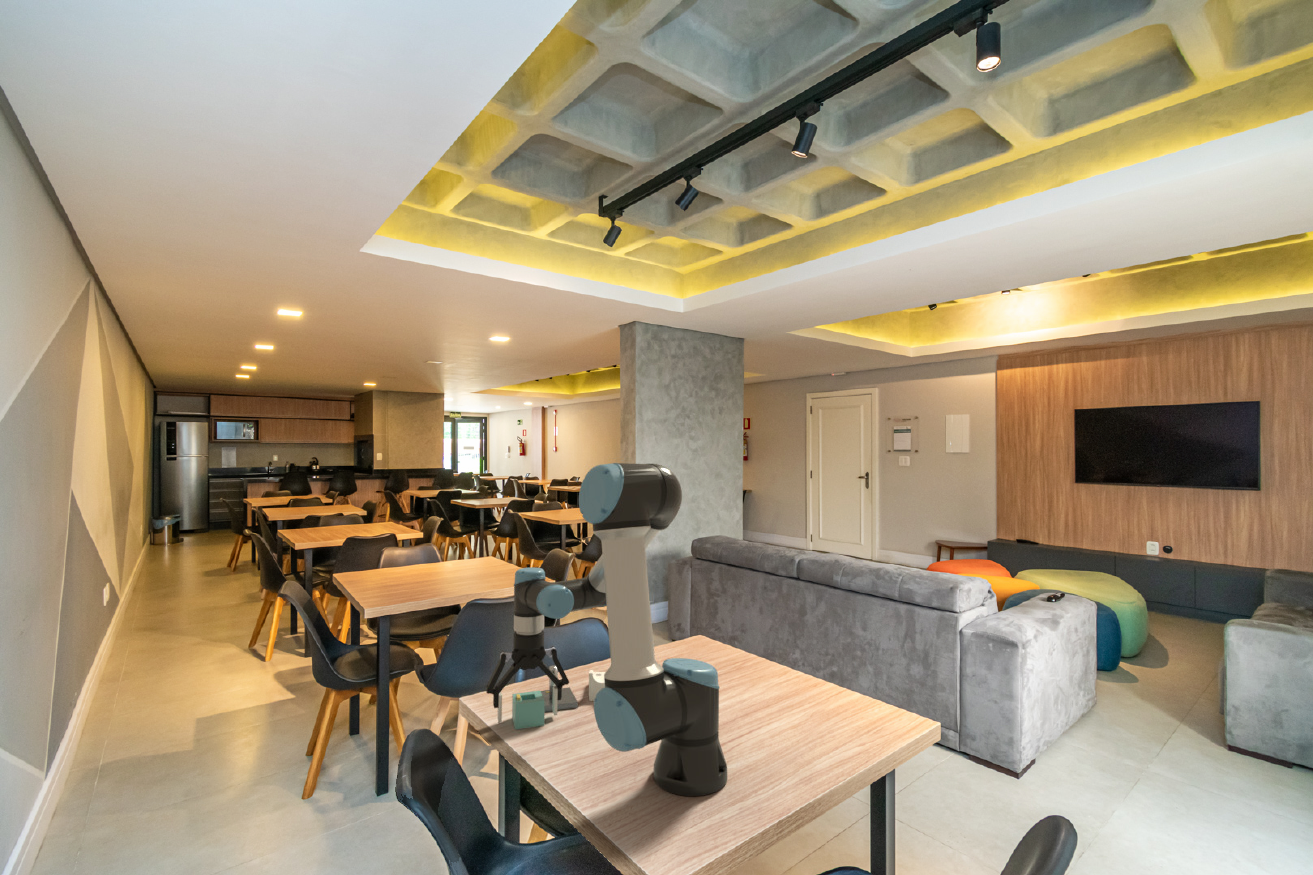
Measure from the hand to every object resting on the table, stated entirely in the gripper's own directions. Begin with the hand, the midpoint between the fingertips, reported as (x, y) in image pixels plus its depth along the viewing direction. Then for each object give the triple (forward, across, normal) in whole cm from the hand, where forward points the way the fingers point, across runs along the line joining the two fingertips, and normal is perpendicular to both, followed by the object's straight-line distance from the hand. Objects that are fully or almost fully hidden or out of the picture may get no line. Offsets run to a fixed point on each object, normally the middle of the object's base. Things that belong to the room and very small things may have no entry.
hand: (527, 716), depth 151 cm
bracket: (+2, -23, -13) cm, 26 cm away
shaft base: (+1, -8, -10) cm, 13 cm away
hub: (+1, 0, 0) cm, 1 cm away
